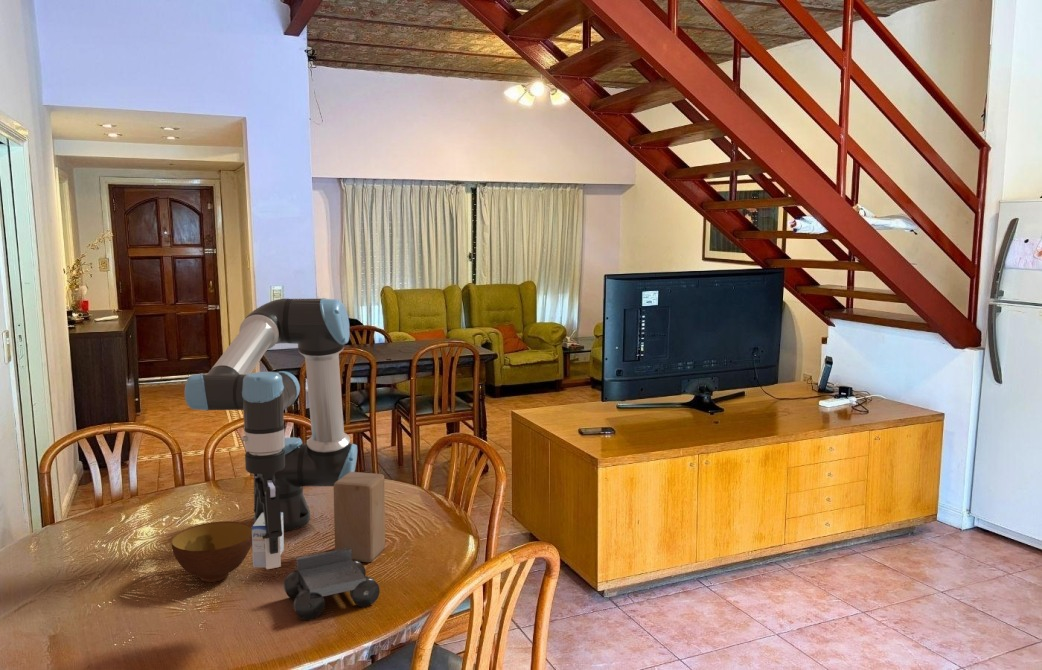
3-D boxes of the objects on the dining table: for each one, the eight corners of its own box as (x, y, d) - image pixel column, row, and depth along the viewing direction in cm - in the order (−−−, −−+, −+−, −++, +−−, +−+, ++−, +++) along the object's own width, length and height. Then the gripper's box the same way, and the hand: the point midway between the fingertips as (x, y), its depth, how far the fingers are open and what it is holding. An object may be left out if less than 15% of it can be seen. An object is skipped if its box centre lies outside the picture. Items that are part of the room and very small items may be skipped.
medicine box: (262, 551, 155) (261, 511, 154) (284, 550, 156) (283, 510, 155) (252, 568, 148) (250, 526, 146) (275, 567, 148) (274, 525, 147)
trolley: (283, 598, 165) (282, 560, 164) (363, 581, 174) (362, 544, 173) (296, 623, 155) (294, 582, 154) (379, 603, 164) (379, 564, 162)
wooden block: (371, 564, 183) (370, 485, 180) (333, 560, 185) (331, 482, 182) (386, 548, 193) (385, 473, 190) (350, 544, 195) (349, 470, 192)
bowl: (246, 590, 169) (244, 548, 167) (163, 596, 166) (161, 553, 165) (260, 558, 186) (258, 519, 185) (185, 562, 183) (183, 523, 182)
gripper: (236, 439, 156) (240, 542, 159) (254, 467, 137) (259, 583, 140) (273, 435, 160) (277, 536, 163) (296, 462, 141) (299, 575, 144)
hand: (268, 558), depth 152 cm, fingers closed on medicine box, 9 cm apart
